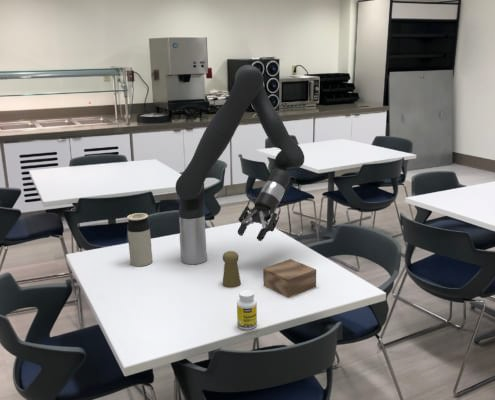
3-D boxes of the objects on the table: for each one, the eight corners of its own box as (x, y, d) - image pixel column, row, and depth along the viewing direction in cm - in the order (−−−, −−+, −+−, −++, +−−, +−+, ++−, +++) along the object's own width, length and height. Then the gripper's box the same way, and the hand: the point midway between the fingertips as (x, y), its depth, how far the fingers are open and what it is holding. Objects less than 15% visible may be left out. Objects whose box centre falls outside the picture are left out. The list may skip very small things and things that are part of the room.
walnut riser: (263, 285, 166) (263, 268, 165) (290, 275, 173) (290, 258, 172) (288, 297, 157) (288, 279, 156) (316, 286, 164) (316, 269, 163)
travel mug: (155, 258, 192) (151, 212, 187) (149, 267, 184) (145, 219, 179) (134, 258, 193) (130, 212, 188) (127, 266, 185) (123, 219, 180)
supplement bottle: (243, 332, 138) (241, 299, 136) (234, 323, 143) (232, 291, 140) (260, 327, 140) (259, 294, 138) (251, 318, 145) (250, 287, 143)
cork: (238, 288, 165) (237, 256, 162) (220, 287, 166) (219, 255, 163) (242, 280, 171) (241, 249, 168) (225, 279, 172) (223, 248, 169)
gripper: (249, 188, 179) (227, 227, 173) (281, 194, 169) (259, 236, 164) (259, 199, 184) (239, 238, 179) (291, 206, 175) (270, 247, 169)
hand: (249, 237), depth 171 cm, fingers open, 8 cm apart
